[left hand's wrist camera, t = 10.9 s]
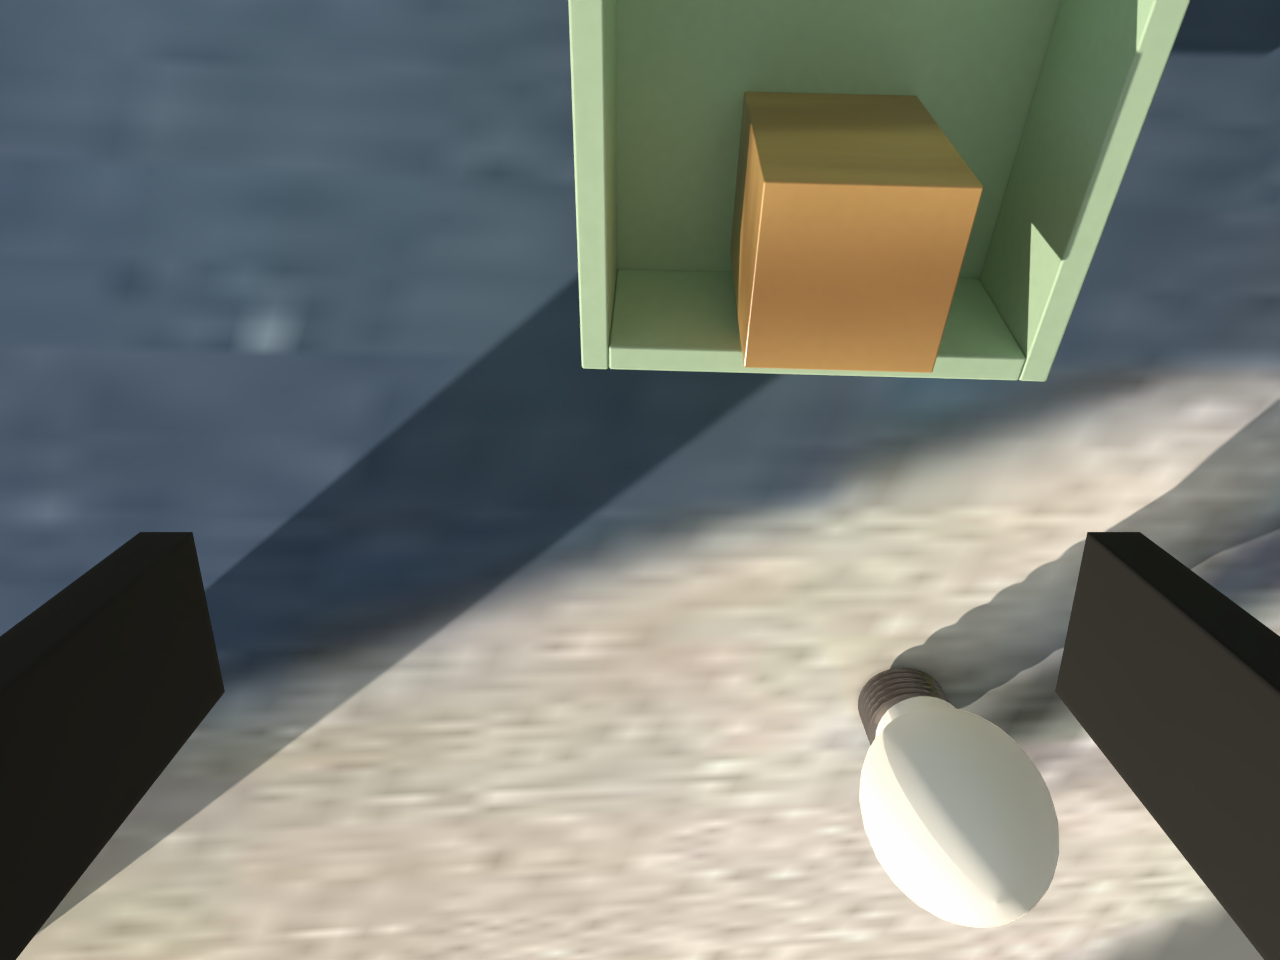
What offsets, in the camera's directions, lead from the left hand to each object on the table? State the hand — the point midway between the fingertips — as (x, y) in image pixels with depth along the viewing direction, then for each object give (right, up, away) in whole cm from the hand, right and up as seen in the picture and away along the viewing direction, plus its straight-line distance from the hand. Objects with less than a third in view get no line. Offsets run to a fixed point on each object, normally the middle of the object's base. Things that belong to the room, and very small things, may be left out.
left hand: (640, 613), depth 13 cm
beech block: (+6, +11, +14) cm, 18 cm away
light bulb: (+12, -8, +26) cm, 29 cm away
